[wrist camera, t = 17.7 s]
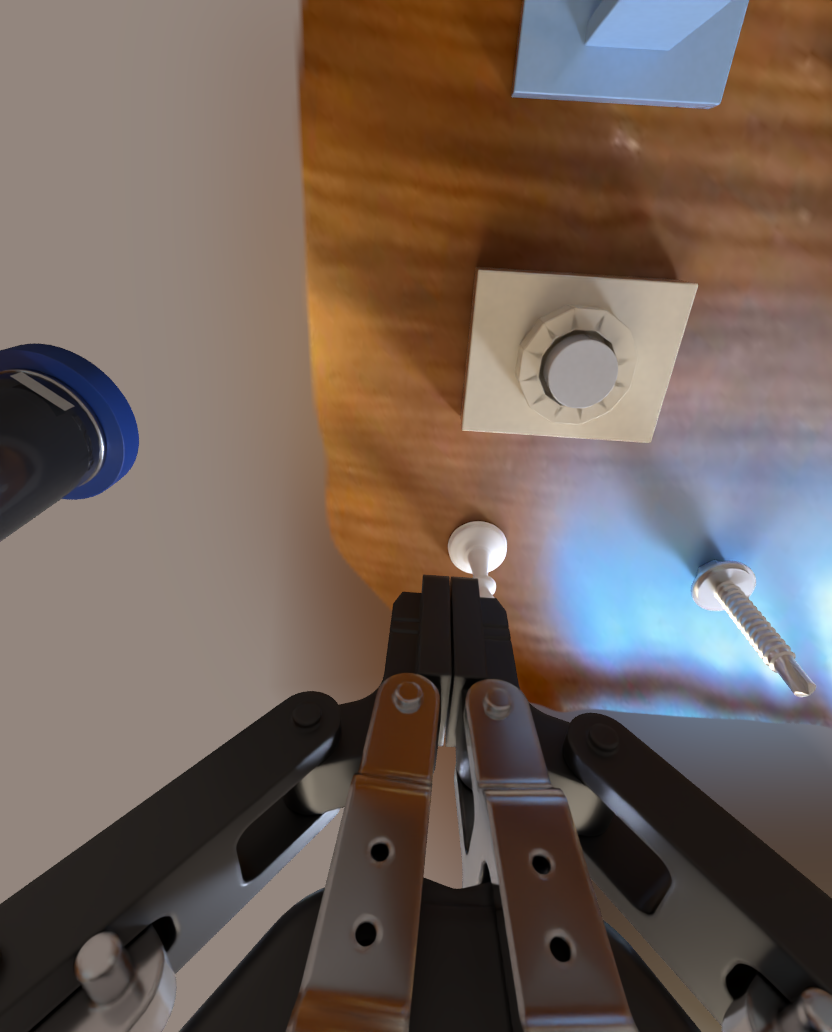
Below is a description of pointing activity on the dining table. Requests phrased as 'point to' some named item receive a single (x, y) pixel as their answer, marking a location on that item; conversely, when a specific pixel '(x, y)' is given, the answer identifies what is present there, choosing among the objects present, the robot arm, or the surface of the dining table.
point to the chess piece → (478, 552)
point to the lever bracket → (627, 50)
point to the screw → (748, 618)
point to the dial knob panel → (553, 317)
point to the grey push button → (580, 371)
